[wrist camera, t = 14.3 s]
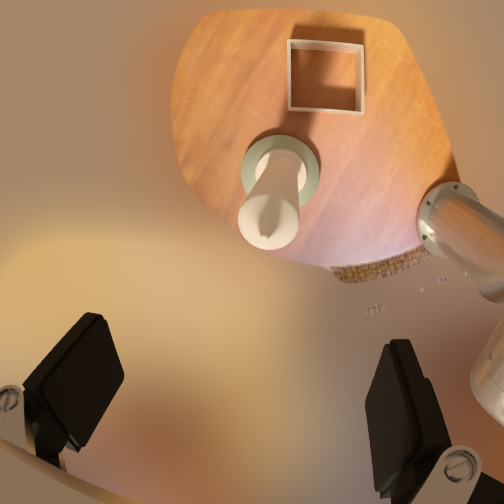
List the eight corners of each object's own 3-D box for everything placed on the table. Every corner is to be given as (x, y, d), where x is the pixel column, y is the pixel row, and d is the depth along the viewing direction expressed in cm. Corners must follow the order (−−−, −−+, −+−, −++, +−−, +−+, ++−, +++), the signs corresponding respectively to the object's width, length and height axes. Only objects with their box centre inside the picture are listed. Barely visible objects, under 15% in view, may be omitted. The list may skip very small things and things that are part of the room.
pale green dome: (332, 158, 41) (333, 159, 40) (295, 222, 46) (295, 224, 45) (263, 121, 40) (262, 121, 39) (229, 187, 45) (227, 189, 44)
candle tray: (357, 51, 34) (363, 45, 31) (357, 115, 38) (364, 115, 35) (287, 46, 36) (287, 39, 32) (288, 111, 39) (287, 109, 36)
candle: (263, 142, 41) (223, 168, 18) (313, 157, 41) (337, 203, 18) (250, 190, 44) (199, 269, 21) (297, 204, 43) (299, 300, 21)
